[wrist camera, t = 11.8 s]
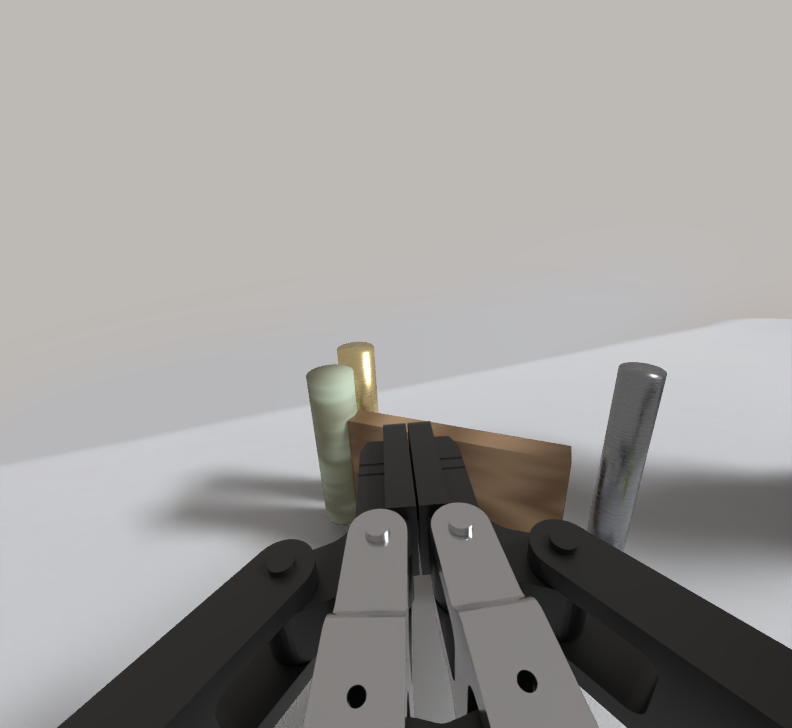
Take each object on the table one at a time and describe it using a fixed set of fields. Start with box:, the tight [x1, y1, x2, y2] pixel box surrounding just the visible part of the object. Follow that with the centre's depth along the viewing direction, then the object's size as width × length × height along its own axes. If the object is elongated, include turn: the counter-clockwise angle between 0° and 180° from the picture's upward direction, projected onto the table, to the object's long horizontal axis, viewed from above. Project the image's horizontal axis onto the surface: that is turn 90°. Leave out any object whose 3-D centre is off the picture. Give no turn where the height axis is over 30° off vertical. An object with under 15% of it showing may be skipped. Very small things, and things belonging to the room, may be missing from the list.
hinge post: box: [587, 362, 667, 552], centre depth 22 cm, size 6×6×16 cm
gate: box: [306, 364, 571, 533], centre depth 26 cm, size 17×3×12 cm, turn 68°
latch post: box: [337, 342, 378, 413], centre depth 32 cm, size 4×4×14 cm
